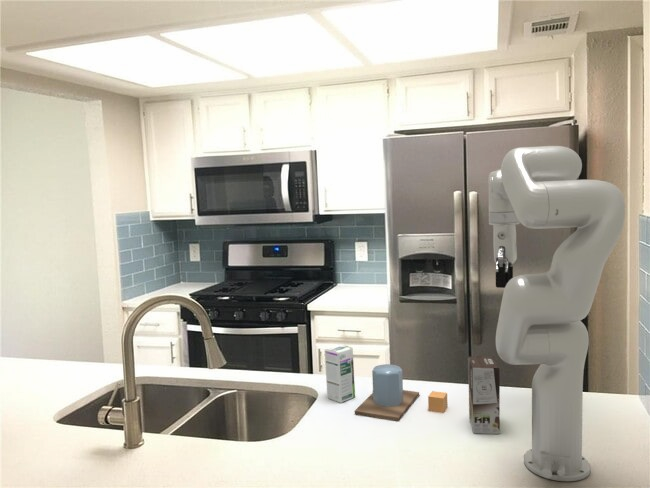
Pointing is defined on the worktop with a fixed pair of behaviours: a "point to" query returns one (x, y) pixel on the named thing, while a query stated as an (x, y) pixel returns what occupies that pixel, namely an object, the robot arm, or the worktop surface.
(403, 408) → the board
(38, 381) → the worktop surface
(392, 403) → the cup
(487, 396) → the coffee box
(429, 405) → the block
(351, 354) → the syrup box
